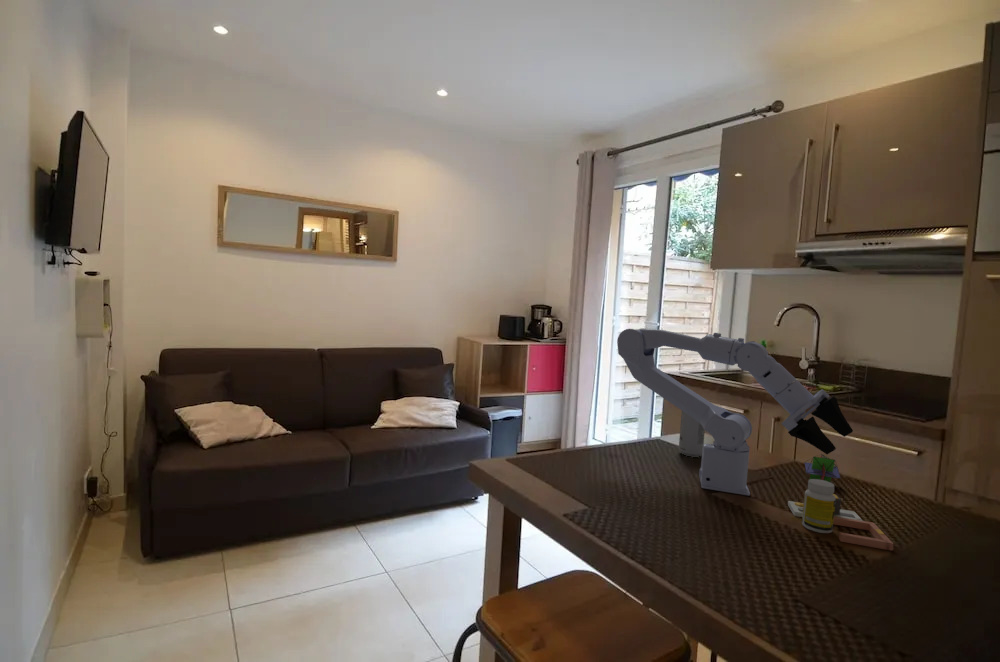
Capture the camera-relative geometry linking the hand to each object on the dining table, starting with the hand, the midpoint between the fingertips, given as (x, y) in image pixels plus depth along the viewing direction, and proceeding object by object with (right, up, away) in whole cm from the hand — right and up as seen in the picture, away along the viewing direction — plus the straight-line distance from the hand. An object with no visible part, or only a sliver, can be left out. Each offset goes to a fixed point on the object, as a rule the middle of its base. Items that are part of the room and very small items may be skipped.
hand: (840, 442), depth 100 cm
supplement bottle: (-9, -14, -7) cm, 18 cm away
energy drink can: (-16, -11, +36) cm, 41 cm away
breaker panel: (-4, -14, -1) cm, 14 cm away
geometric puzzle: (+8, -14, +19) cm, 24 cm away
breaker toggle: (-3, -13, -1) cm, 13 cm away
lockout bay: (-3, -14, -9) cm, 17 cm away
